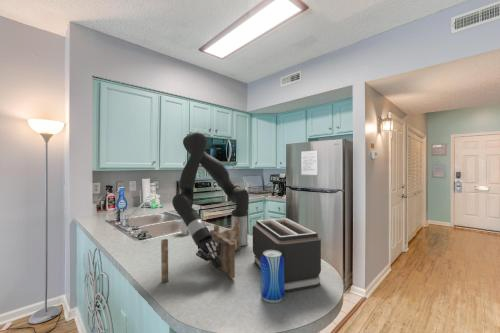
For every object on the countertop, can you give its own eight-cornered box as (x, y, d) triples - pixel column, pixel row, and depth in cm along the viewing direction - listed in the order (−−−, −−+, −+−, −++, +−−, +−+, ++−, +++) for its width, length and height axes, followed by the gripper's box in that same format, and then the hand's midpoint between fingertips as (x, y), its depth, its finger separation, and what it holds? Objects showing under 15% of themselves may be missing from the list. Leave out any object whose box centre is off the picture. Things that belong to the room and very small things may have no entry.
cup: (189, 236, 158) (188, 221, 158) (177, 235, 160) (177, 220, 160) (194, 232, 166) (194, 218, 166) (183, 231, 168) (183, 217, 167)
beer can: (259, 291, 89) (259, 249, 89) (281, 290, 90) (281, 248, 89) (262, 305, 81) (262, 258, 80) (286, 303, 81) (286, 257, 81)
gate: (209, 258, 118) (209, 230, 118) (213, 257, 119) (213, 229, 119) (230, 278, 97) (230, 244, 97) (235, 277, 98) (235, 243, 98)
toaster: (285, 254, 126) (285, 215, 126) (324, 286, 93) (324, 234, 93) (250, 258, 120) (250, 218, 120) (279, 294, 87) (278, 239, 87)
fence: (237, 248, 134) (236, 218, 133) (240, 249, 132) (240, 219, 132) (160, 281, 97) (159, 240, 97) (163, 283, 95) (163, 241, 95)
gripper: (190, 230, 97) (211, 268, 89) (214, 223, 107) (235, 257, 100) (182, 240, 100) (202, 278, 93) (206, 233, 110) (226, 266, 103)
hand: (219, 267), depth 96 cm, fingers closed
